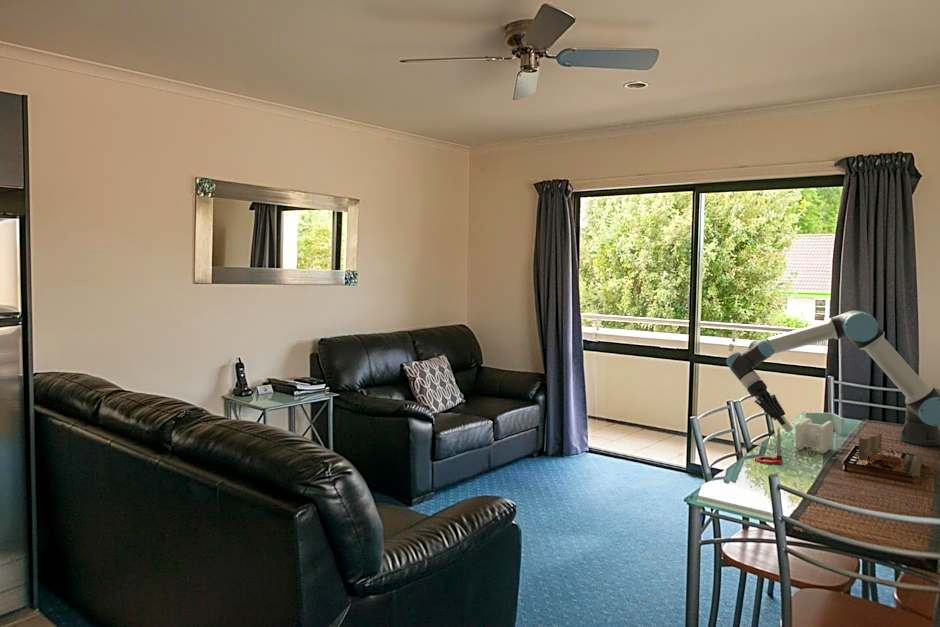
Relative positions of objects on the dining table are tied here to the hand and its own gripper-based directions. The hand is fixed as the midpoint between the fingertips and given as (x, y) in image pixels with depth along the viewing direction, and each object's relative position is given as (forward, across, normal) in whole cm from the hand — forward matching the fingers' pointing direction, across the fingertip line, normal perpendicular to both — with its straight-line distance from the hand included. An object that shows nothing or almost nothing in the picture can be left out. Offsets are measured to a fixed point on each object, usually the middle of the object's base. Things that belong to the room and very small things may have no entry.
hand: (790, 430), depth 280 cm
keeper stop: (+22, 0, +13) cm, 26 cm away
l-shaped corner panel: (+2, -37, -8) cm, 38 cm away
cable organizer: (+11, 0, +2) cm, 11 cm away
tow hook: (+10, +30, +1) cm, 31 cm away
